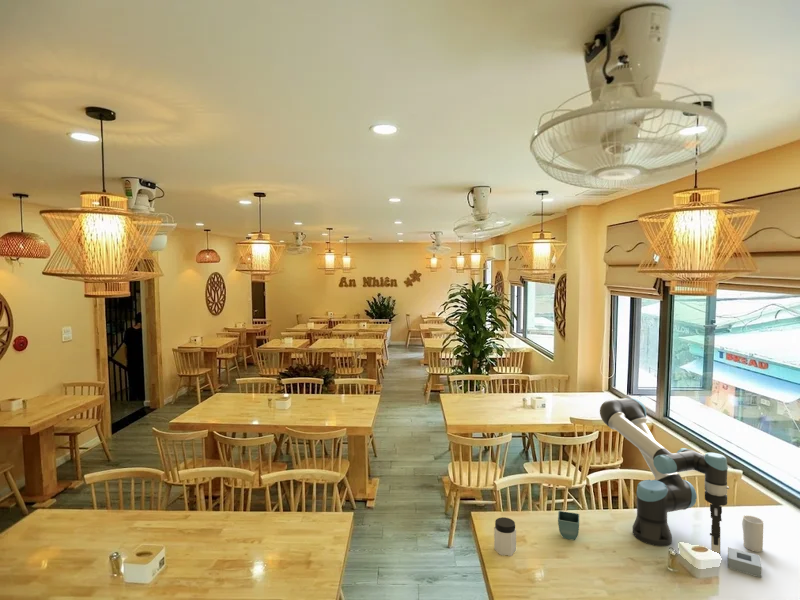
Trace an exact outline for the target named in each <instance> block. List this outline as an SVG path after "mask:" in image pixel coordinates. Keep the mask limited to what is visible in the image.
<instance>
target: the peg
mask: <svg viewBox="0 0 800 600" xmlns="http://www.w3.org/2000/svg"><path fill="white" fill-rule="evenodd" d="M710 529H711V530H710V531H711V532H710V533H712V524H711V528H710ZM710 536H711V537H710V538H711V541H710V542H711V544H710V545H711V550H712V535H710ZM711 550H710V551H711ZM719 554H720V555H721V552H720V553H719Z"/></svg>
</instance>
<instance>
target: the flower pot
mask: <svg viewBox="0 0 800 600" xmlns="http://www.w3.org/2000/svg"><path fill="white" fill-rule="evenodd" d="M557 514H558V516H557V525H558V531H559V534H560V537H562V539H565V538H566V539H565V540H571V541H576V540H577V539H578V537H579V533H580V532H579V531H580V514H579V513H575V512H569V511H568V512H567V511H564V510H558V513H557Z"/></svg>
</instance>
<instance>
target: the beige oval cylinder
mask: <svg viewBox="0 0 800 600" xmlns="http://www.w3.org/2000/svg"><path fill="white" fill-rule="evenodd" d="M741 521H742V523H741V525H742V526H741V527H742V535H743V546H744V548H746V549H747V550H749V551H753V552H757V553H761V552H762V551H763V550H764V549H763V545H764V543H763V542H764V521H763V520H762V519H761V518H760V517H756V516H754V515H743V516H742V520H741Z"/></svg>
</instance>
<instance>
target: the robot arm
mask: <svg viewBox="0 0 800 600" xmlns="http://www.w3.org/2000/svg"><path fill="white" fill-rule="evenodd" d="M599 416H600V419H601V420H602V421H603V423H604V424H605V425H606V426H607V427H608V428H609V429H611V430H614V431H616V432H618V434H620V435H621V436H623V438H625V439H626V440H627V441H629V442H630V443H631V444H632V445H633V446H635V447H636V448H637V449H638V450H639V452H640V453H641V455H642V457H643V459H644V461H645V462H646V464H647V466H648V468H649V469H650V472H651V474H652V475H653V477H654V479H644V480H641V481H639V482H638V483H637V487H636V517H635V521H634V523H633V525H632V534H633V536H634V537H635V538H636V539H637V540H639V541H641V542H643V543H646V544H648V545H650V546H651V545H653V546H657V547H658V546H659V547H665V546H670V545H671V544H672V542H673V535H672V533H671V530H670V526H669V524H668V513H670V512H672V513H673V512H675V511H682V510H683V511H685V510H687V509H691V508H692V507H694V506H695V504H696V503H697V497H698V495H697V492H696V489H695V487H694V485H693V484H692V483H691V482H689V481H688V480H686V479H683V478H682V475H680V473H681V472H688V471H695V472H698V473H701V474H703V475H704V501H706V502H707V503H710V504H709V511H710V518H711V525H712V533H711V532H709V536H711V535H712V551H714V552H717V553H720V554H721V522H723V521H722V520H723V519H722V513H723V509H722V508H723V506H727V504H728V495H727V494H728V490H729V489H730V486H728V469H729V468H728V459H727V456H725V455H723V454H721V453H717V452H708V451H707V452H706V453H705V454H704V453H700V452H697V451H695V450H693V449H691V448H690V449H689V448H686V447H681V448H679V450H677V451H676V452H674V453H672V452H670V451H669V450H668V449H667V448H666V447H664V446H663V445H661V444H660V443H659V442H658V441H656V439H655V437H654V435H653V434H652V432H651V431H650V429H649V427H648V425H647V424H646V423H647V418H646V417H647V409H646V407H645V405H644V403H643V402H642V401H641V400H640V399H638V398H636V397H624V398H616V399H615V398H614V399H608V400H604V402H602V404H601V405H600V407H599Z"/></svg>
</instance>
